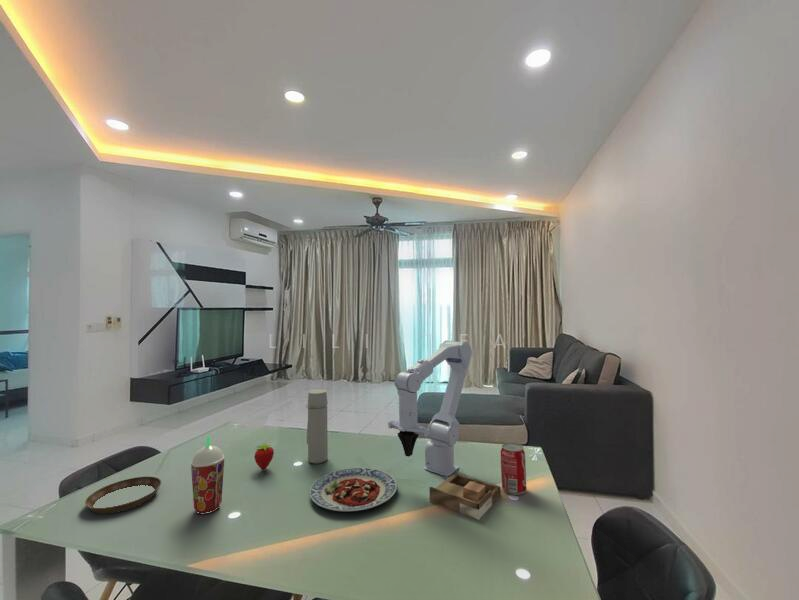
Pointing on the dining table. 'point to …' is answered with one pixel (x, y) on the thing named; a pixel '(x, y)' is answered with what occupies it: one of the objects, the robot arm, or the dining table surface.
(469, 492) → the block
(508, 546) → the dining table surface
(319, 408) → the water bottle
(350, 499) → the ceramic plate
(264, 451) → the strawberry
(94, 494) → the oval wooden ring
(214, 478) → the smoothie
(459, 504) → the wooden compartment tray
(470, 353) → the robot arm
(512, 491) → the soda can
